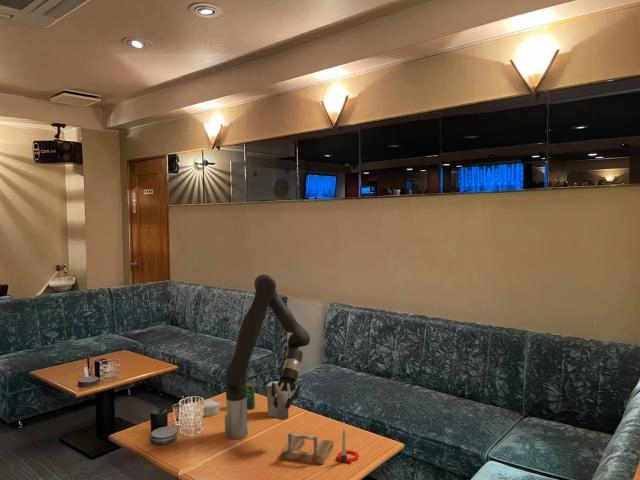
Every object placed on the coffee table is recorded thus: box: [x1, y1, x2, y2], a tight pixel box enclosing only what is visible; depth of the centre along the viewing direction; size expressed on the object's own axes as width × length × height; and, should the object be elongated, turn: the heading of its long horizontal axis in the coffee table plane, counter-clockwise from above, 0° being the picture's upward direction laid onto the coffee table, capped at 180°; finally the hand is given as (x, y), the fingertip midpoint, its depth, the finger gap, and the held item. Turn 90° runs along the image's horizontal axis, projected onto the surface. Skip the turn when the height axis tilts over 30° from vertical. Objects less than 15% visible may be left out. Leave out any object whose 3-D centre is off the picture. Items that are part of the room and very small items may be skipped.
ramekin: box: [203, 398, 221, 417], centre depth 236 cm, size 11×11×5 cm
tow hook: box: [335, 428, 360, 464], centre depth 188 cm, size 8×13×9 cm
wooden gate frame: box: [281, 433, 334, 465], centre depth 191 cm, size 18×14×10 cm
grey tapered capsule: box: [276, 391, 289, 421], centre depth 198 cm, size 5×5×11 cm
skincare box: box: [265, 380, 280, 418], centre depth 233 cm, size 8×7×16 cm
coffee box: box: [246, 382, 256, 410], centre depth 242 cm, size 8×3×13 cm, turn 72°
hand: (281, 407), depth 196 cm, fingers closed on grey tapered capsule, 4 cm apart
